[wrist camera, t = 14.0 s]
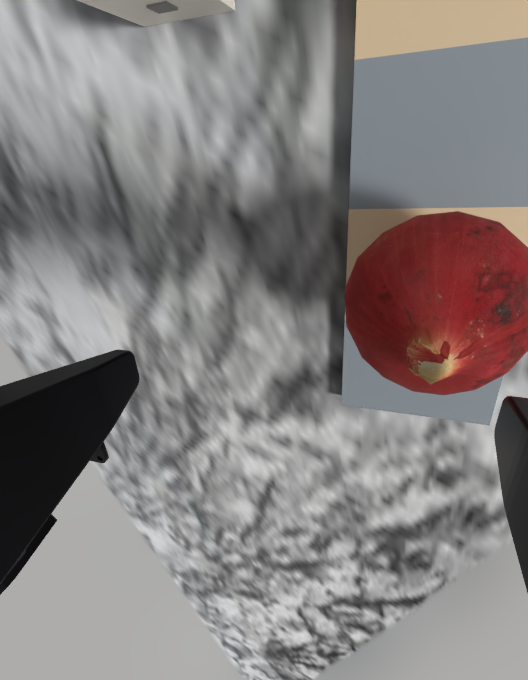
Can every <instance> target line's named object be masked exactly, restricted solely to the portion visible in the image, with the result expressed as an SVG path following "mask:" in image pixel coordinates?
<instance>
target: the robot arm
mask: <svg viewBox="0 0 528 680" xmlns="http://www.w3.org/2000/svg"><path fill="white" fill-rule="evenodd" d="M138 383H139V373H138V369H137V365H136V361H135V357H134V355H133V353H132V352H130V351H126V350H114V351H111V352H108V353H105V354H102V355H98V356H95V357H92V358H89V359H86V360H83V361H79V362H76V363H73V364H70V365H67V366H63V367H60V368H57V369H54V370H51V371H48V372H44V373H41V374H38V375H35V376H32V377H29V378H26V379H22V380H19V381H16V382H13V383H10V384H7V385H3V386H0V594H1V593H2V592H3V591H4V590H5V589H6V588H7V587H8V586H9V585H10V584H11V582H12V581H13V580H14V579H15V578H16V576H17V575H18V573H19V572H20V571H21V570H22V568H23V567H24V565H25V564H26V563H27V561H28V560H29V558H30V557H31V556H32V554H33V553H34V552H35V550H36V549H37V547H38V546H39V545H40V543H41V542H42V540H43V539H44V538H45V536H46V535H47V534H48V532H49V531H50V529H51V528H52V527H53V525H54V524H55V522H56V521H57V519H56V518H55V517H54V516H53V515H52V514H51V513H52V512H53V510H54V509H55V508H56V506H57V505H58V504H59V502H60V501H61V499H62V498H63V497H64V495H65V494H66V492H67V491H68V490H69V488H70V487H71V486H72V484H73V483H74V481H75V480H76V479H77V477H78V476H79V475H80V473H81V472H82V470H83V469H84V468H85V466H86V465H87V463H88V462H89V461H95V462H99V463H105V462H106V461H107V459H108V458H109V457H108V453H107V451H106V448H105V445H104V442H103V441H104V440H105V439H106V437H107V436H108V434H109V433H110V431H111V430H112V428H113V427H114V425H115V424H116V422H117V420H118V418H119V417H120V415H121V413H122V412H123V410H124V408H125V407H126V405H127V403H128V401H129V400H130V398H131V396H132V395H133V393H134V391H135V389H136V388H137V386H138ZM495 445H496V452H497V460H498V467H499V474H500V482H501V489H502V496H503V502H504V507H505V511H506V515H507V519H508V523H509V526H510V530H511V534H512V537H513V541H514V545H515V548H516V552H517V556H518V559H519V563H520V567H521V570H522V574H523V578H524V581H525V585H526V589H527V592H528V398H521V397H513V396H508V397H506V398H505V399H504V400H503V403H502V406H501V409H500V413H499V416H498V419H497V423H496V426H495Z"/></svg>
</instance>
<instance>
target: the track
mask: <svg viewBox="0 0 528 680" xmlns="http://www.w3.org/2000/svg"><path fill="white" fill-rule="evenodd" d="M455 211H459V212H463V213H467V214H471V215H475V216H478V217H482V218H486V219H490V220H494V221H497V222H500V223H501V224H503V225H504V226H505V227H506V228H507V229H508V230H509V231H510V232H511V233H513V234H514V235H515V236H516V237H517V238H518V239H519V240H520V241H521V242H523V243H524V244H525V245H526V246H527V247H528V0H357V5H356V31H355V58H354V84H353V111H352V137H351V164H350V190H349V217H348V243H347V270H346V284H347V282H348V279H349V277H350V275H351V272H352V270H353V267H354V265H355V262H356V260H357V258H358V257H359V256H360V255H361V254H362V253H363V252H364V251H365V250H366V249H367V248H368V247H369V246H370V245H371V244H372V243H373V242H374V241H375V240H376V239H377V238H378V237H379V236H380V235H381V234H382V233H383V232H385V231H387V230H389V229H391V228H393V227H395V226H397V225H399V224H401V223H403V222H405V221H407V220H409V219H411V218H413V217H415V216H417V215H427V214H436V213H445V212H455ZM502 377H503V376H501V377H499V378H497V379H496V380H494V381H492V382H490V383H488V384H486V385H484V386H482V387H480V388H478V389H476V390H472V391H467V392H461V393H455V394H449V395H437V394H428V393H420V392H413V391H411V390H409V389H407V388H404V387H402V386H400V385H398V384H396V383H394V382H392V381H390V380H388V379H386V378H384V377H382V376H381V375H380V374H379V373H378V372H377V371H376V370H375V369H374V368H373V367H372V366H371V365H369V364H368V363H367V362H366V361H365V360H364V359H363V358H362V357H361V355H360V353H359V351H358V348H357V346H356V344H355V342H354V340H353V338H352V336H351V334H350V332H349V330H348V328H347V326H346V312H345V323H344V349H343V376H342V402H341V405H347V406H354V407H361V408H368V409H375V410H383V411H390V412H397V413H404V414H411V415H419V416H426V417H433V418H440V419H447V420H455V421H462V422H469V423H476V424H483V425H490V421H491V418H492V414H493V410H494V407H495V403H496V399H497V396H498V392H499V388H500V385H501V381H502Z"/></svg>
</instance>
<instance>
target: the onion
mask: <svg viewBox="0 0 528 680" xmlns="http://www.w3.org/2000/svg"><path fill="white" fill-rule="evenodd" d="M345 312H346V326H347V328H348V330H349V332H350V334H351V336H352V338H353V340H354V342H355V344H356V346H357V348H358V351H359V353H360V355H361V357H362V358H363V359H364V360H365V361H366V362H367V363H368V364H369V365H371V366H372V367H373V368H374V369H375V370H376V371H377V372H378V373H379V374H380V375H381V376H382V377H384V378H386V379H388V380H390V381H392V382H394V383H396V384H398V385H400V386H402V387H404V388H407V389H409V390H411V391H413V392H420V393H428V394H437V395H449V394H455V393H461V392H467V391H472V390H476V389H478V388H480V387H482V386H484V385H486V384H488V383H490V382H492V381H494V380H496V379H497V378H499V377H501V376H503V375H505V374H506V373H507V372H508V371H509V370H510V369H511V368H512V367H513V366H514V365H515V364H516V363H517V362H518V361H519V360H520V359H521V357H522V356H523V355H524V354H525V353H526V352H527V351H528V247H527V246H526V245H525V244H524V243H523V242H521V241H520V240H519V239H518V238H517V237H516V236H515V235H514V234H513V233H511V232H510V231H509V230H508V229H507V228H506V227H505V226H504V225H503V224H501V223H500V222H497V221H494V220H490V219H486V218H482V217H478V216H475V215H471V214H467V213H463V212H459V211H455V212H445V213H436V214H427V215H417V216H415V217H413V218H411V219H409V220H407V221H405V222H403V223H401V224H399V225H397V226H395V227H393V228H391V229H389V230H387V231H385V232H383V233H382V234H381V235H380V236H379V237H378V238H377V239H376V240H375V241H374V242H373V243H372V244H371V245H370V246H369V247H368V248H367V249H366V250H365V251H364V252H363V253H362V254H361V255H360V256H359V257H358V258H357V260H356V262H355V265H354V267H353V270H352V272H351V275H350V277H349V279H348V282H347V284H346V287H345Z"/></svg>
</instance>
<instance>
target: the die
mask: <svg viewBox="0 0 528 680" xmlns="http://www.w3.org/2000/svg"><path fill="white" fill-rule="evenodd" d="M77 1H80V2H82V3H85V4H87V5H90V6H93V7H95V8H98V9H100V10H103V11H105V12H108V13H110V14H113V15H115V16H118V17H121V18H123V19H126V20H128V21H131V22H133V23H136V24H138V25H141V26H143V27H147V26H153V25H159V24H164V23H170V22H175V21H181V20H187V19H192V18H198V17H203V16H209V15H214V14H220V13H226V12H231V11H235V1H234V0H77Z"/></svg>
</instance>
